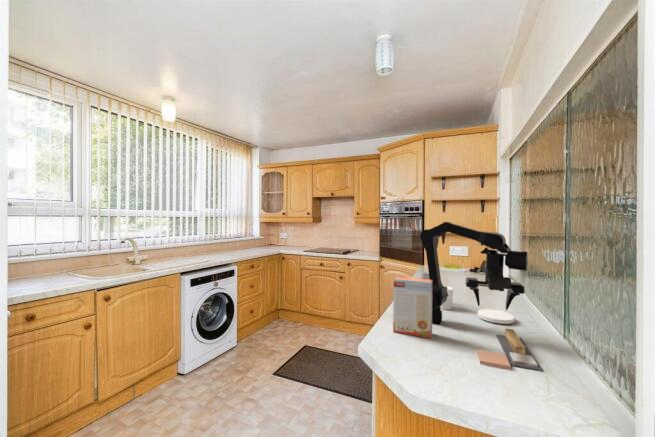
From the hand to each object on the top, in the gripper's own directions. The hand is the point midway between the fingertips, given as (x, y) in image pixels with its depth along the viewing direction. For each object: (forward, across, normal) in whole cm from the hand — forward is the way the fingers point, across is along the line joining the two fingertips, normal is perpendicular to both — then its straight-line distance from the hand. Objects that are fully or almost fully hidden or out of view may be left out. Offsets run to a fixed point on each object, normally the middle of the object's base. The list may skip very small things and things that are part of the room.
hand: (492, 307), depth 109 cm
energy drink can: (+12, -27, +37) cm, 47 cm away
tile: (+10, -2, -21) cm, 24 cm away
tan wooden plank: (+10, +6, -9) cm, 15 cm away
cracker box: (+12, -28, -9) cm, 32 cm away
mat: (+11, +6, -10) cm, 16 cm away
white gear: (+12, +4, +22) cm, 25 cm away
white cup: (+12, -17, +29) cm, 35 cm away
